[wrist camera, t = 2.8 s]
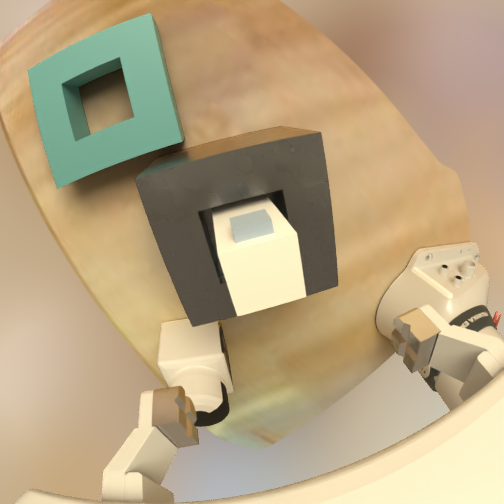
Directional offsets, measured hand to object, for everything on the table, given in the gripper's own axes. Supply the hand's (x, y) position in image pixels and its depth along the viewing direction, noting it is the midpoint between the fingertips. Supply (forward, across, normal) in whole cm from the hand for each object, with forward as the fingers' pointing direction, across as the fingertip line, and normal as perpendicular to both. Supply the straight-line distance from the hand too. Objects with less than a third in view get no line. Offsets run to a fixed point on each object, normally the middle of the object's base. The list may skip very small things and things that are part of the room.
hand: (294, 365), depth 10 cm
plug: (+15, 0, 0) cm, 15 cm away
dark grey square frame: (+21, 0, 0) cm, 21 cm away
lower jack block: (+21, +8, -13) cm, 26 cm away
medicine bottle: (+22, +8, +16) cm, 28 cm away
